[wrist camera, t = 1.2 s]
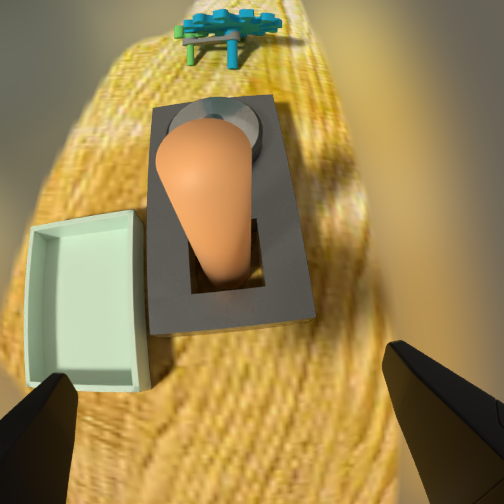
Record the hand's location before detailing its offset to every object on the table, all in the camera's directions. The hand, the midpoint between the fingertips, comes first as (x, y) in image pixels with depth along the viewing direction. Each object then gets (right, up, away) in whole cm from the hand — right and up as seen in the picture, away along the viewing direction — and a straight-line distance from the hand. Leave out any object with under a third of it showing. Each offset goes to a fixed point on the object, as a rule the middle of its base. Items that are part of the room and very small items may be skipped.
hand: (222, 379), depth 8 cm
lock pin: (-1, +2, +15) cm, 15 cm away
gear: (-2, +25, +23) cm, 34 cm away
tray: (-11, -1, +14) cm, 18 cm away
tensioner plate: (-1, +7, +16) cm, 17 cm away
